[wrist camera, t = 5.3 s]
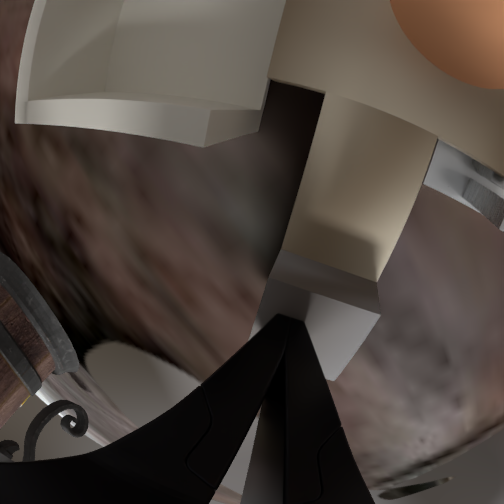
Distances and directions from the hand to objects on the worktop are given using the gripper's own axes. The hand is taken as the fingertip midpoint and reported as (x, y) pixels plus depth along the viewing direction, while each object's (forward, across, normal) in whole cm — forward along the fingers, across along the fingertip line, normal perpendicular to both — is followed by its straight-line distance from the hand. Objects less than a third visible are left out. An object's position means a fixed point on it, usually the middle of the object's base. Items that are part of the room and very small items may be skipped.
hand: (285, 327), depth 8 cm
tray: (+4, +7, -9) cm, 12 cm away
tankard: (+5, +23, +21) cm, 32 cm away
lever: (+2, -6, -5) cm, 8 cm away
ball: (0, -2, -9) cm, 9 cm away
